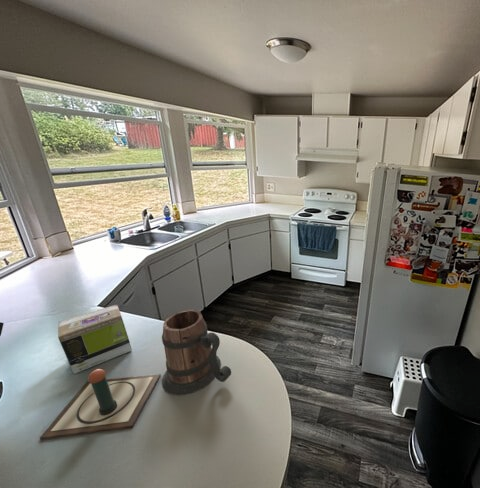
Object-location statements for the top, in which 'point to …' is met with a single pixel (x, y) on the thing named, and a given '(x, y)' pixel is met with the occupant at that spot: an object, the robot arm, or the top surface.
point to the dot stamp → (102, 392)
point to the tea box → (93, 338)
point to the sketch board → (87, 407)
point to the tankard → (190, 354)
